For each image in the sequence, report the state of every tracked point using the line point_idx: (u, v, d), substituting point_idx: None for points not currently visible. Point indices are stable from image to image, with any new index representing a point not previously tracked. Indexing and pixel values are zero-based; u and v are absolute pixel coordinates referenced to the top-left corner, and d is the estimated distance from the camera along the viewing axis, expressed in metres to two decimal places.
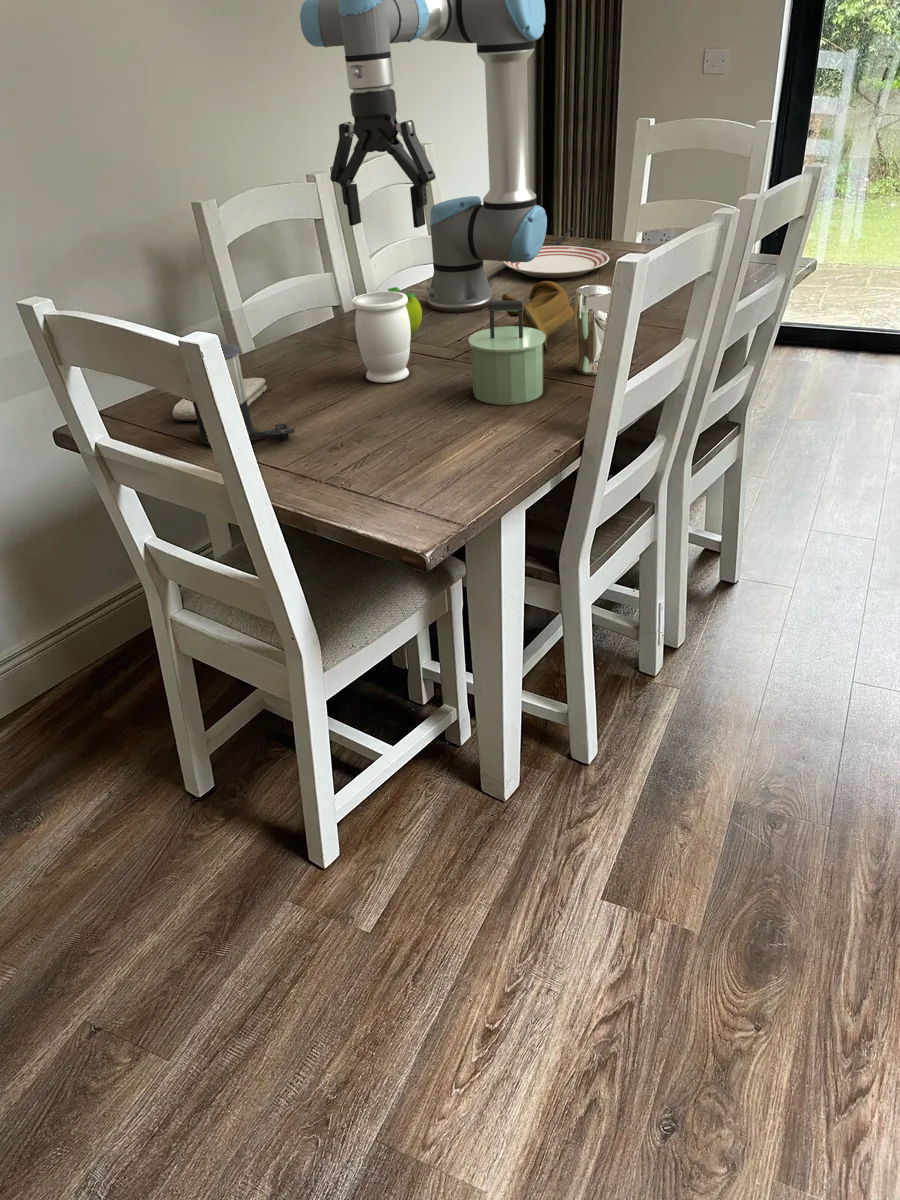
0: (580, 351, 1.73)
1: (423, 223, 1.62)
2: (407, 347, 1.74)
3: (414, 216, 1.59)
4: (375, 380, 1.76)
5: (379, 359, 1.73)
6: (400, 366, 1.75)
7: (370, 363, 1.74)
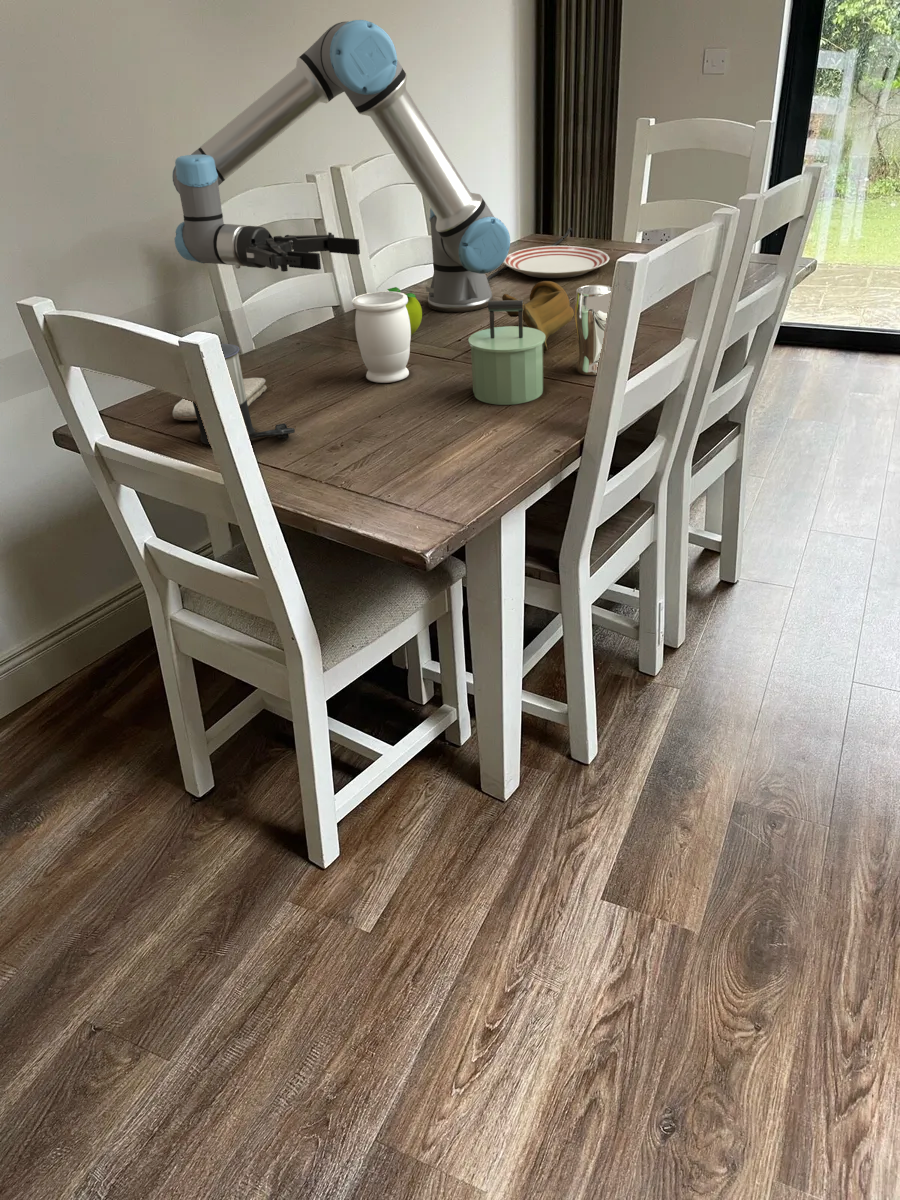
0: (580, 351, 1.73)
1: (316, 257, 1.66)
2: (407, 347, 1.74)
3: (311, 268, 1.68)
4: (375, 380, 1.76)
5: (379, 359, 1.73)
6: (400, 366, 1.75)
7: (370, 363, 1.74)
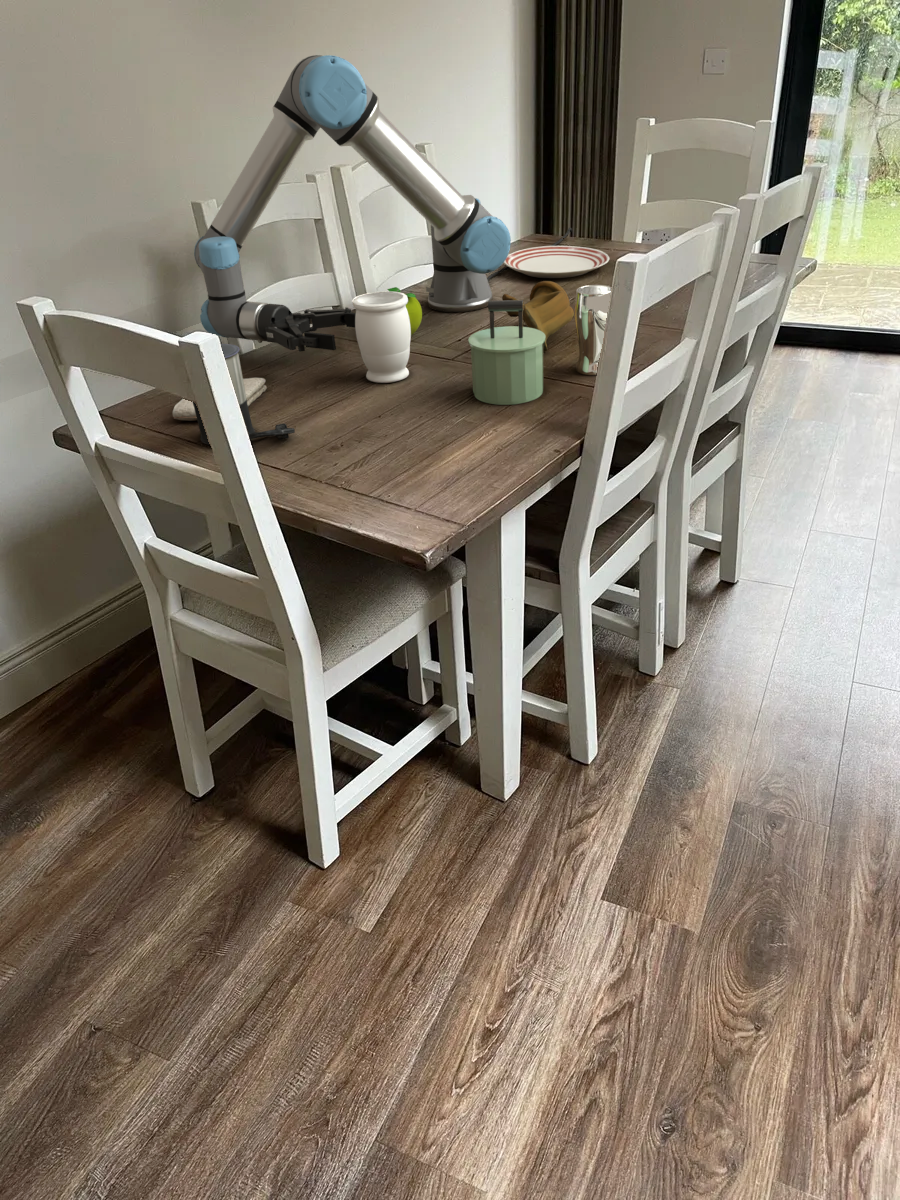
0: (580, 351, 1.73)
1: (331, 339, 1.73)
2: (407, 347, 1.74)
3: (327, 348, 1.75)
4: (375, 380, 1.76)
5: (379, 359, 1.73)
6: (400, 366, 1.75)
7: (370, 363, 1.74)
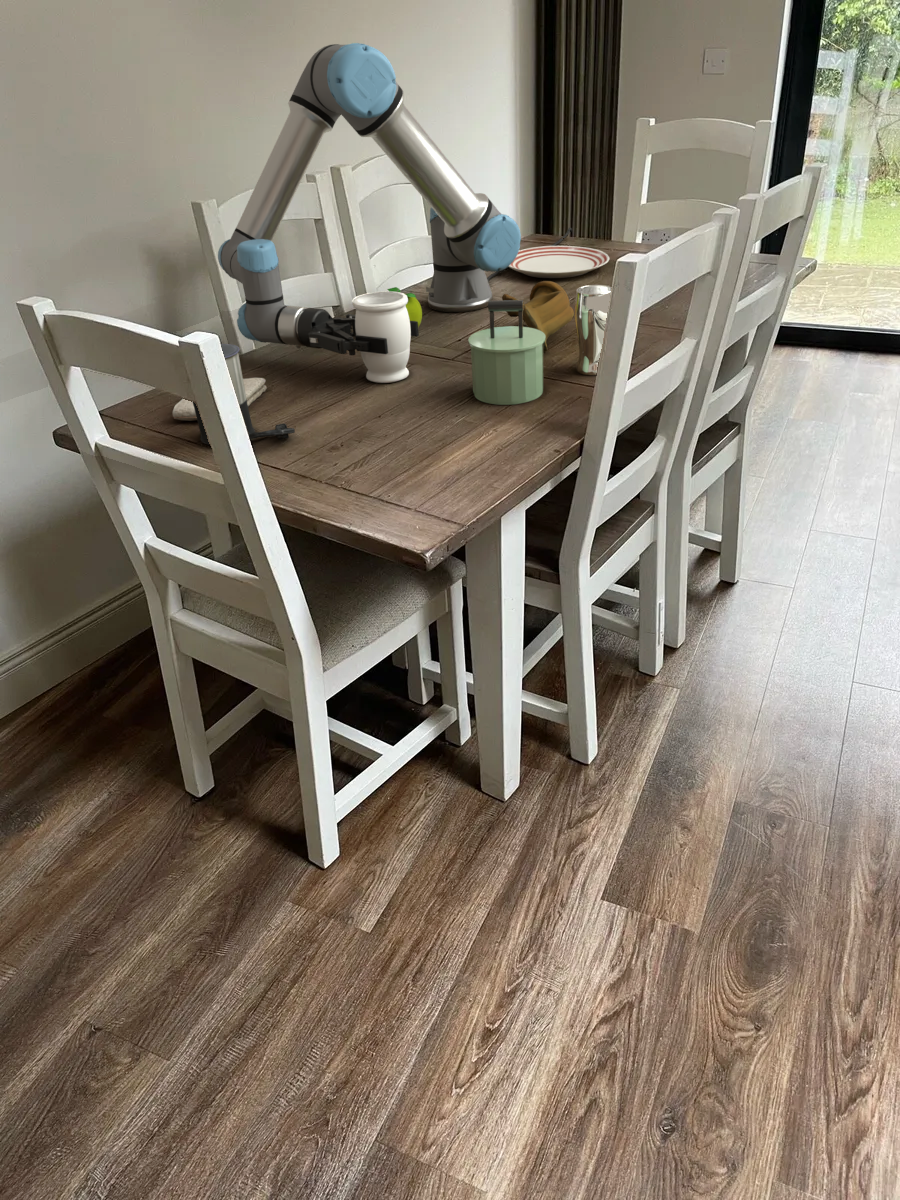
0: (580, 351, 1.73)
1: (383, 343, 1.69)
2: (407, 347, 1.74)
3: (378, 352, 1.71)
4: (375, 380, 1.76)
5: (379, 359, 1.73)
6: (400, 366, 1.75)
7: (370, 363, 1.74)
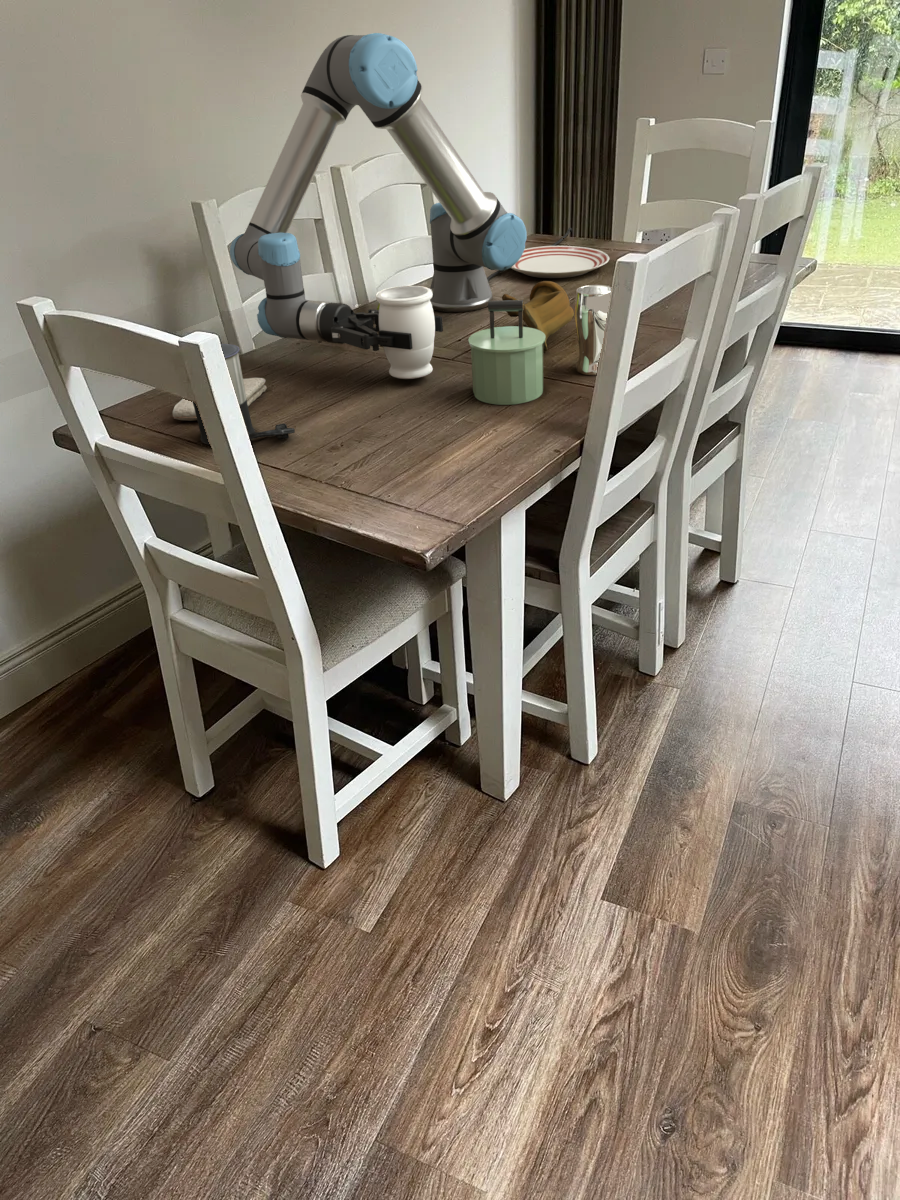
0: (580, 351, 1.73)
1: (408, 338, 1.66)
2: (431, 342, 1.71)
3: None
4: (398, 376, 1.73)
5: (403, 355, 1.70)
6: (424, 362, 1.72)
7: (394, 359, 1.71)
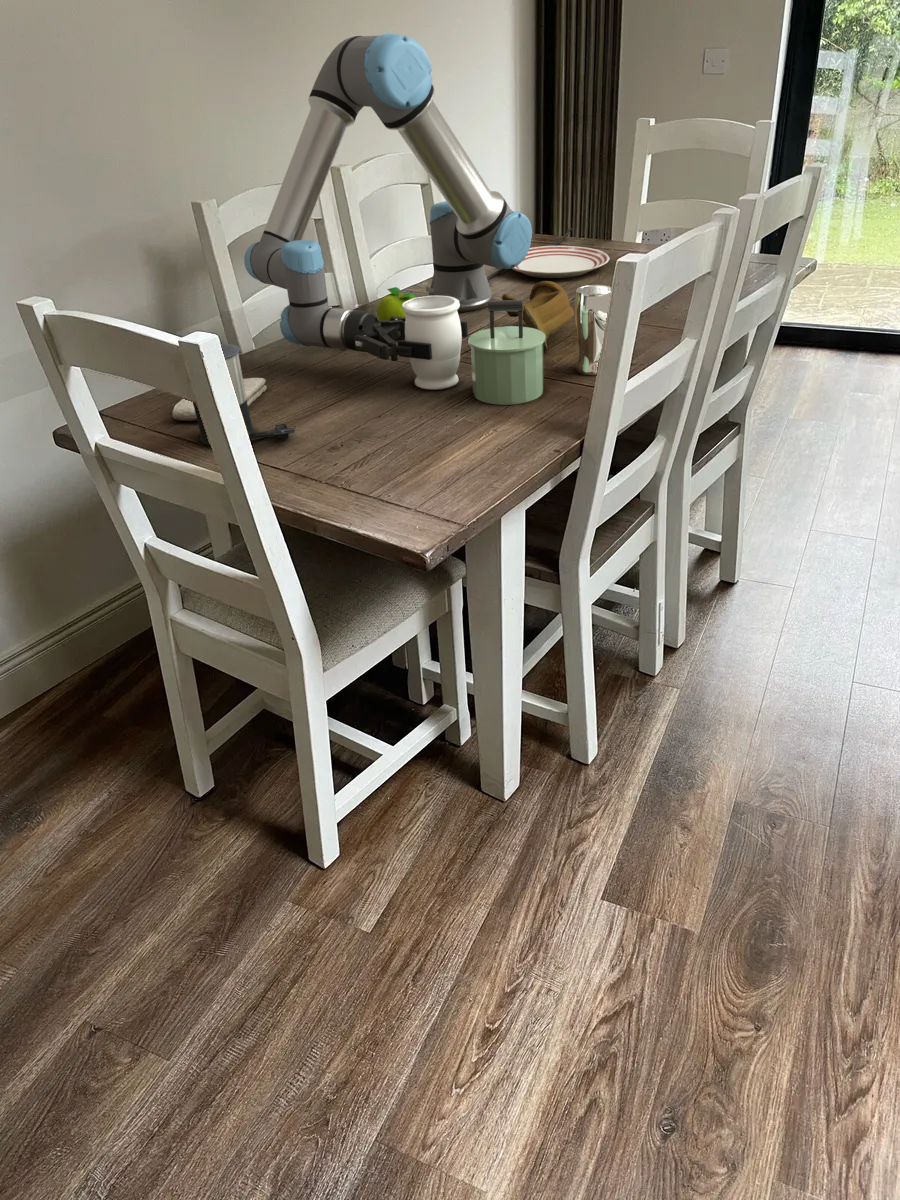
0: (580, 351, 1.73)
1: (427, 348, 1.63)
2: (458, 353, 1.70)
3: None
4: (425, 387, 1.71)
5: (430, 365, 1.68)
6: (451, 372, 1.70)
7: (420, 369, 1.70)
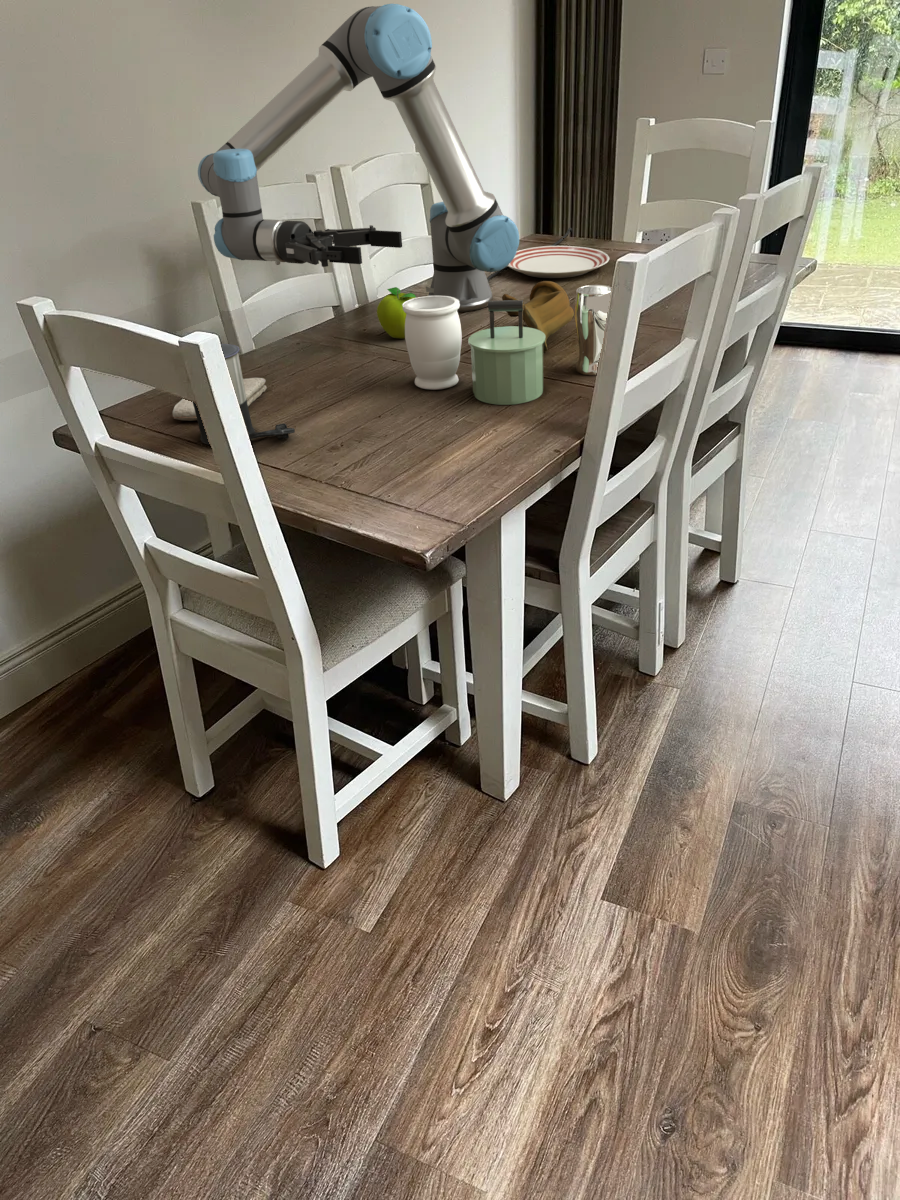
0: (580, 351, 1.73)
1: (357, 251, 1.61)
2: (458, 353, 1.70)
3: None
4: (425, 387, 1.71)
5: (430, 365, 1.68)
6: (451, 372, 1.70)
7: (420, 369, 1.70)
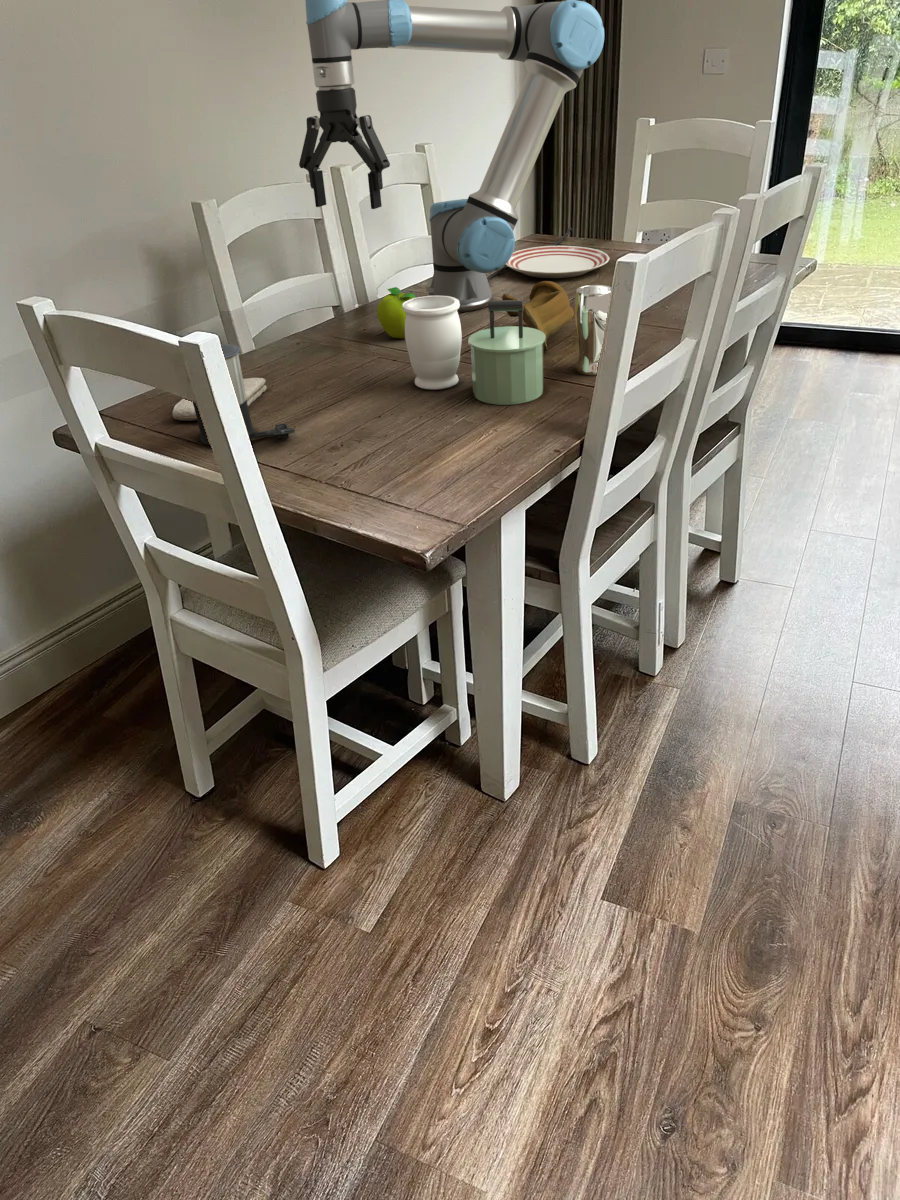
0: (580, 351, 1.73)
1: (379, 205, 1.85)
2: (458, 353, 1.70)
3: (371, 199, 1.83)
4: (425, 387, 1.71)
5: (430, 365, 1.68)
6: (451, 372, 1.70)
7: (420, 369, 1.70)
